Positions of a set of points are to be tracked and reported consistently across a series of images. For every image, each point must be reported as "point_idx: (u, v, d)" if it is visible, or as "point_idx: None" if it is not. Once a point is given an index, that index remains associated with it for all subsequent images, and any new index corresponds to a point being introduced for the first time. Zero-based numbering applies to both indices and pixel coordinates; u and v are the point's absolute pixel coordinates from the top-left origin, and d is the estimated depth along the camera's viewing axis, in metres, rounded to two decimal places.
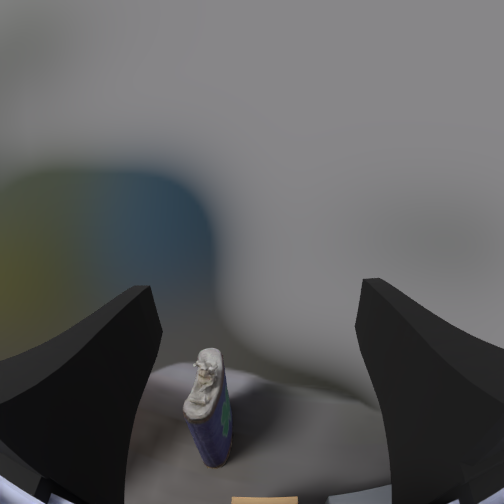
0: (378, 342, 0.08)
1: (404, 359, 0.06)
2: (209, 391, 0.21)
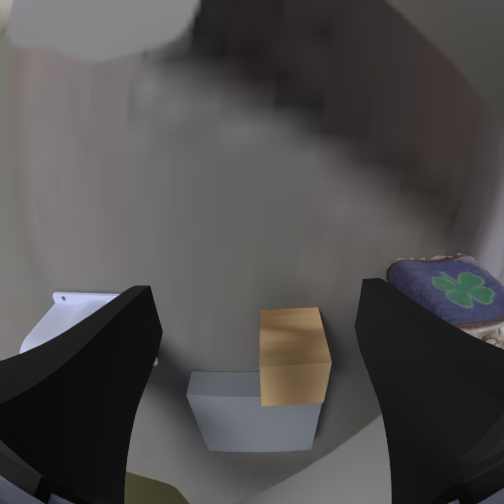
0: (378, 341, 0.08)
1: (404, 359, 0.06)
2: None
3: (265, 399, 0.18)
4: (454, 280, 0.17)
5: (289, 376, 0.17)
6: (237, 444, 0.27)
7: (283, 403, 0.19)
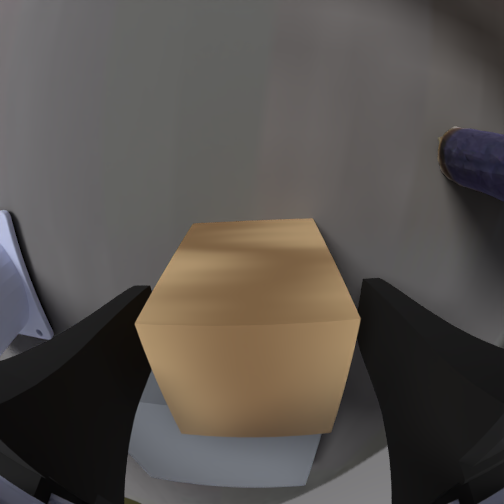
0: (378, 342, 0.08)
1: (404, 359, 0.06)
2: None
3: (184, 420, 0.07)
4: None
5: (230, 365, 0.06)
6: (188, 475, 0.15)
7: (230, 433, 0.07)
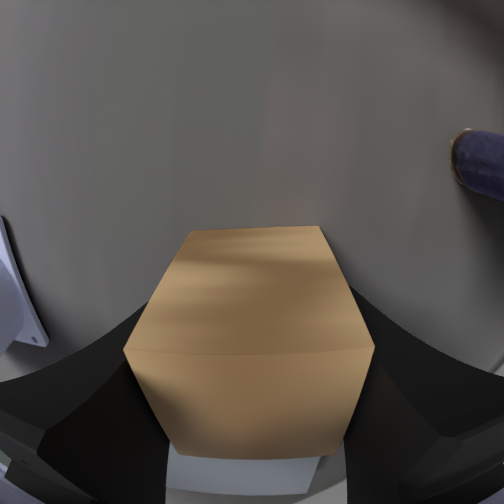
0: None
1: None
2: None
3: (181, 443, 0.06)
4: None
5: (229, 394, 0.05)
6: (188, 483, 0.15)
7: (230, 456, 0.06)
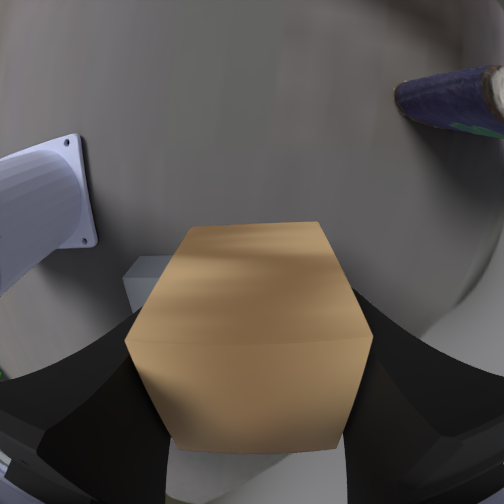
0: None
1: None
2: None
3: (182, 436, 0.06)
4: None
5: (229, 386, 0.05)
6: None
7: (230, 450, 0.07)
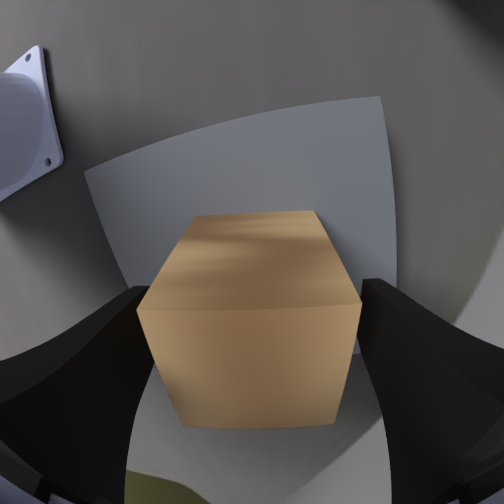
0: (378, 342, 0.08)
1: (404, 359, 0.06)
2: None
3: (186, 411, 0.07)
4: None
5: (232, 352, 0.06)
6: None
7: (232, 424, 0.07)
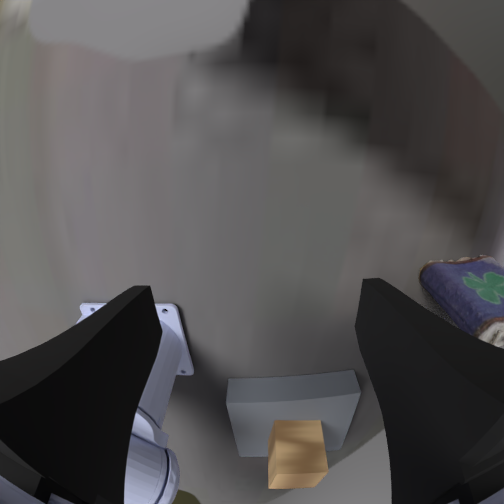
0: (378, 342, 0.08)
1: (404, 359, 0.06)
2: (502, 339, 0.13)
3: (273, 486, 0.20)
4: (481, 280, 0.17)
5: (295, 477, 0.19)
6: None
7: (285, 487, 0.20)
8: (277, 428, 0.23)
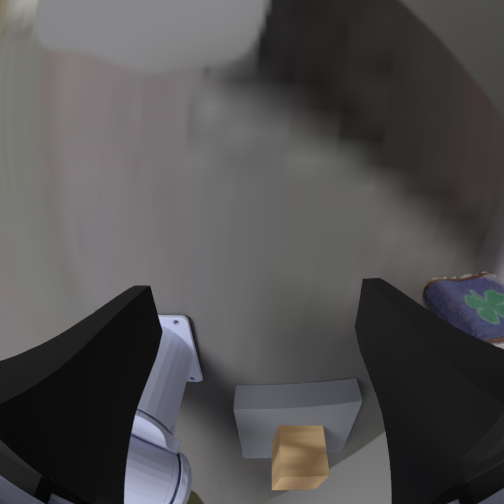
0: (378, 342, 0.08)
1: (404, 359, 0.06)
2: None
3: (276, 487, 0.21)
4: (482, 298, 0.17)
5: (298, 480, 0.20)
6: None
7: (287, 489, 0.21)
8: (281, 433, 0.24)
